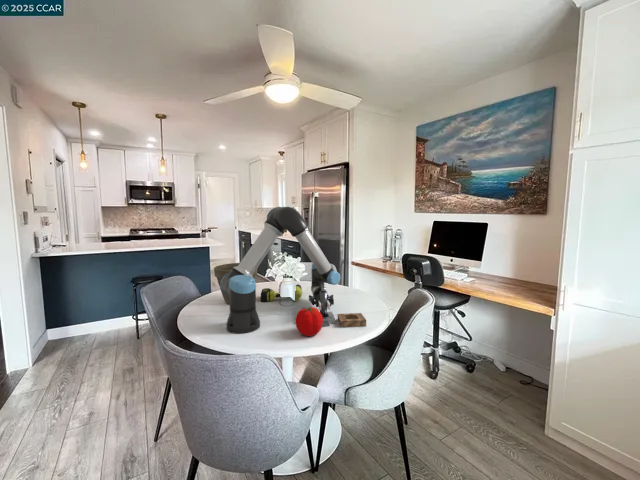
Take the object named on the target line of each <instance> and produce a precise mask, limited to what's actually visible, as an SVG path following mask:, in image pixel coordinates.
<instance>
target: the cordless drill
mask: <svg viewBox="0 0 640 480" xmlns="http://www.w3.org/2000/svg"><path fill="white" fill-rule="evenodd" d="M295 286H296V291H295V301H294V302H298V301H299V300H300V299H301V298H302V295H303V290H302V285H301V284H296V285H295ZM279 293H280V292H276V291H275V290H274V289H272V288H270V287H268V288H267V287H265V288H262V289H261V292H260V302H261V303H267V302H272V301H274V300H276V299H277V298H281V297H280V294H279Z"/></svg>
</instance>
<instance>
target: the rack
mask: <svg viewBox="0 0 640 480" xmlns="http://www.w3.org/2000/svg"><path fill="white" fill-rule="evenodd" d="M336 316H337V321H338V324H339V326H340V328H356V327H358V328H361V327H367V319H366V318H365V316H364V315H363V314H362V312H353V313H352V312H351V313H349V312H348V313H337V315H336Z"/></svg>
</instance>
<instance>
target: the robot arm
mask: <svg viewBox="0 0 640 480" xmlns="http://www.w3.org/2000/svg"><path fill="white" fill-rule="evenodd" d="M263 225H264V228H263V229H262V231H261V232H260V234H259V235H258V236H257V238H256V239H255V240H254V242H253V244H252V245H251V246H250V248H249V250H248V251H247V253H245V255H244V256H243V258H242V260H241V261H240V262H239V263H240V264H239V265H238V266H236V267H233V269H232V270H231V271H230V273H228V274H226V275H225V276H224V277H223V278H222V280H221V289H220V291H221V290H222V292H223V293H224V295H226V296H227V297H228V298H229V299H230V304H229V315H228V317H227V321H226V324H225V325H226V328H225V329H226V331H227V330H228V332H229V331H230V332H229V333H232V332H235V333H234V334H246V333H250V332H251V333H252V332H254V331H256V330H258V329H259V328H260V327H261V320H260V318H259V315H258V312H257V300H256V299H257V297H256V296H257V294H256V293H257V291H256V289H257V285H256V278H255V279H254V278H253V276H252V275H253V273H254V272H255V270H256V269H257V268H258V267H259V266H260V264H261V263H262V262H263V260H264V258H265V257H266V256H267V254H268V252H269V251H270V250H271V248H272V246H273V245H274V244H275V242H276V241H277V239H278V238H279V237H283V235H284V234H285V233H286V231H287V232H289V234H290V235H291V236H292V237H293V238H295V239H296V241H297V242H298V243H299V245H300V246H301V248H302V250H303V251H304V252H305V254H306V255H307V256H308V258H309V260H310V261H311V263H312V264H311V286H310V290H311V293H312V295H310V294H309V295H308V301H309V302H310V304H311V306H315V308H318V310H319V311H320V310H321V303H320V291H321V288H322V287H325V283H326V284H328V285H332V286H336V285H337V284H339V283H340V280H341V274H340V273H339V272H338V271H337V270H334V268H333V267H332V265H331V264H330V262H329V261H328V259H327V256H326V255H325V254H324V251H322V249H321V247H320V246H319V245H318V243H317V241H316V240H315V238H314V237H313V235H312V233H311V232H310V230H309V225H308V223H307V221H306V220H305V218H304V217H303V216H302V214H301V213H300V212H299V211H298V209H296V208H294V207H291V206H277V207H273V208H272V209H270V210H269V211H268V212H267V215H266V220H265V221H264V223H263ZM222 292H221V293H222ZM334 302H335V299H334V295H333V294H331V295H329V294H327V311H328V310H329V311H330V310H331V307H332V306H334V304H335V303H334Z"/></svg>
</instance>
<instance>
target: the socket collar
mask: <svg viewBox="0 0 640 480" xmlns="http://www.w3.org/2000/svg"><path fill="white" fill-rule="evenodd" d="M325 323H329V324H330V325H331V324H332V325H333V324H336V317H335V315H334V313H333V311H327V317H323V323H322V324H325Z"/></svg>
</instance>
